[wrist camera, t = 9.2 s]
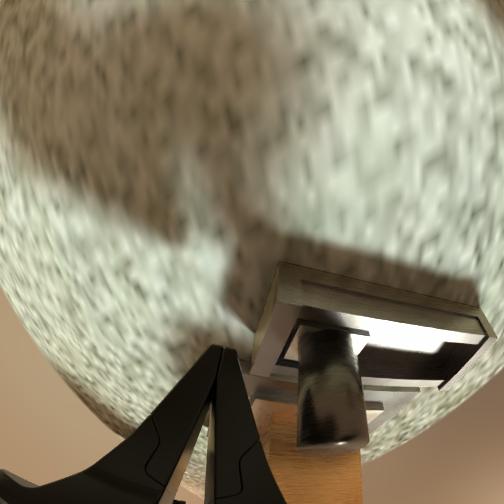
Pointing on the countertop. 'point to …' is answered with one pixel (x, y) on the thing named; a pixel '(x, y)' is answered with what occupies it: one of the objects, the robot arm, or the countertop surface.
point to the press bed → (286, 397)
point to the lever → (328, 388)
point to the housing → (308, 467)
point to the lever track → (373, 328)
